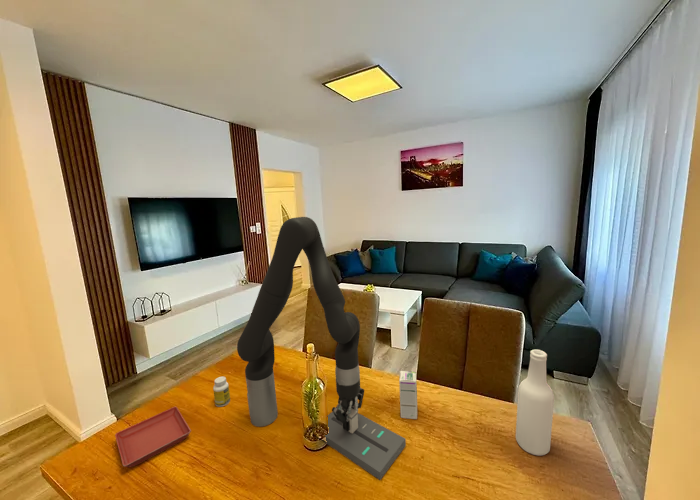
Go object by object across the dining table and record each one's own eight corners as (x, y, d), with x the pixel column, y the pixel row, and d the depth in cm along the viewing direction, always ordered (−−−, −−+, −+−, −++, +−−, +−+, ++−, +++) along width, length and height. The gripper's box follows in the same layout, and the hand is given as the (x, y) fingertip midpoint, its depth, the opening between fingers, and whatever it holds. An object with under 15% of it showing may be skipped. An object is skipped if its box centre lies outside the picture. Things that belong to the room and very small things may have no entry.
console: (313, 434, 96) (313, 427, 96) (341, 410, 107) (341, 403, 106) (380, 480, 80) (379, 471, 79) (405, 445, 90) (405, 438, 90)
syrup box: (417, 419, 100) (417, 381, 98) (399, 418, 102) (399, 379, 99) (417, 408, 106) (416, 371, 103) (400, 406, 107) (399, 370, 105)
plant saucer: (177, 413, 110) (176, 405, 109) (193, 439, 97) (191, 430, 96) (116, 442, 97) (114, 433, 97) (125, 477, 85) (123, 467, 84)
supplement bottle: (226, 407, 111) (223, 383, 109) (212, 407, 111) (209, 384, 110) (232, 397, 116) (229, 375, 115) (219, 398, 117) (216, 375, 115)
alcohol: (545, 436, 91) (552, 346, 86) (554, 460, 83) (562, 362, 78) (512, 430, 94) (517, 343, 89) (518, 453, 86) (524, 358, 81)
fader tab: (342, 427, 95) (341, 411, 94) (348, 422, 97) (347, 405, 96) (352, 433, 92) (351, 416, 91) (358, 427, 94) (357, 411, 93)
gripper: (352, 362, 99) (354, 408, 102) (323, 384, 89) (326, 434, 92) (370, 370, 94) (372, 418, 97) (342, 393, 84) (344, 446, 87)
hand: (350, 425), depth 94 cm, fingers closed on fader tab, 3 cm apart
